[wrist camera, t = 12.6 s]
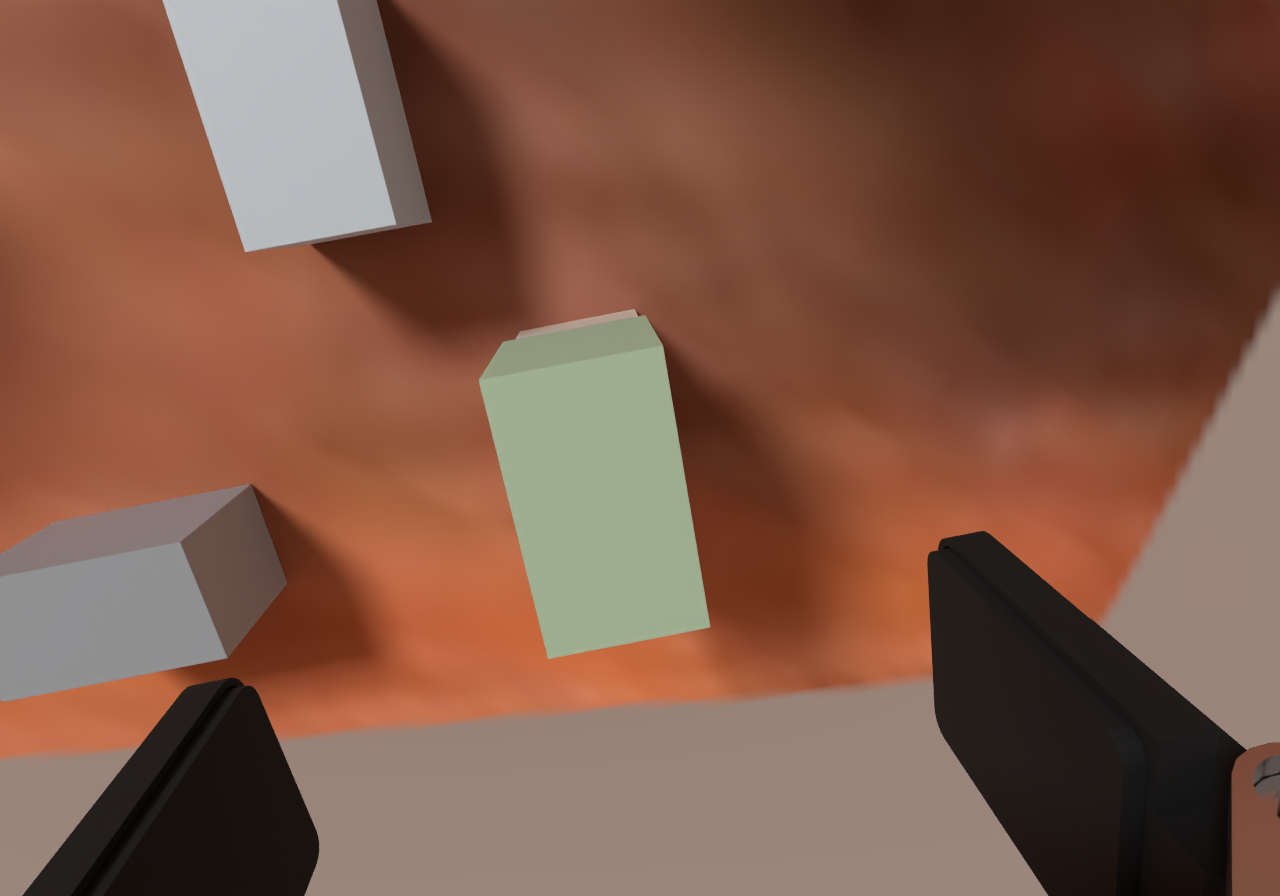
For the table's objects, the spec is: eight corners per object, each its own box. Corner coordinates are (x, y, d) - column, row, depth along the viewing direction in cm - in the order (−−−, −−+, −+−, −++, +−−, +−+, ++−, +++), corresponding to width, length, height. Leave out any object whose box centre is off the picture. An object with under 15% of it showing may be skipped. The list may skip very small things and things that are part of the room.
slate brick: (102, 618, 28) (2, 701, 23) (57, 520, 26) (-59, 588, 22) (288, 581, 28) (227, 658, 23) (252, 483, 27) (179, 541, 22)
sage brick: (503, 341, 21) (478, 380, 16) (645, 315, 21) (662, 345, 16) (555, 566, 23) (548, 659, 18) (684, 541, 23) (710, 627, 18)
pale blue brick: (239, 3, 22) (144, -54, 17) (372, -20, 22) (314, -84, 17) (311, 244, 24) (245, 251, 20) (432, 222, 24) (396, 224, 20)
